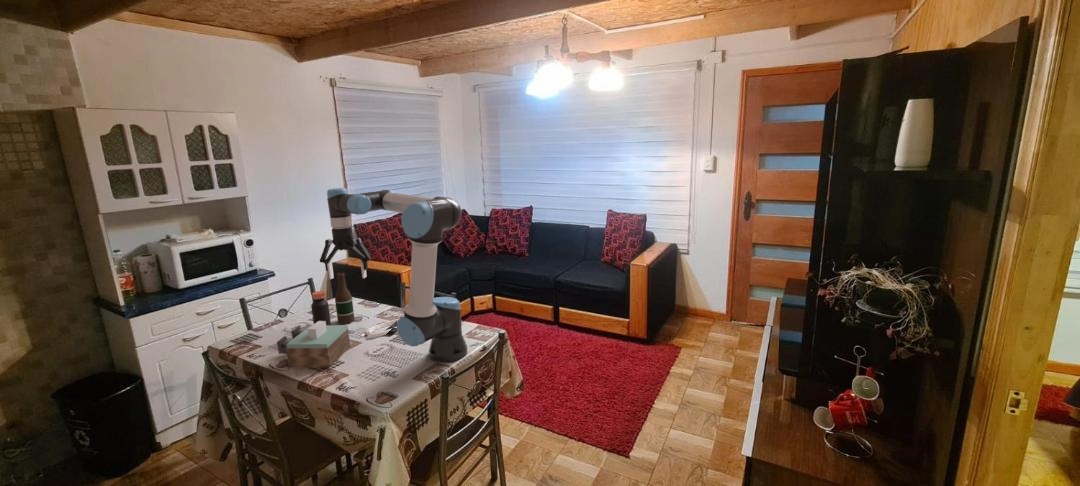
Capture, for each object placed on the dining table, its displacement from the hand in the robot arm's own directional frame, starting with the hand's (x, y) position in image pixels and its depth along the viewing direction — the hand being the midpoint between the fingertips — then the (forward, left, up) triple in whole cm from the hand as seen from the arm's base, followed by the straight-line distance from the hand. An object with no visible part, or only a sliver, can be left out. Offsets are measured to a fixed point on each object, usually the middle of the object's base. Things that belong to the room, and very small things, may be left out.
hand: (348, 278), depth 193 cm
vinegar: (+18, -9, -30) cm, 36 cm away
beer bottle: (+15, -25, -30) cm, 42 cm away
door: (+11, +12, -21) cm, 26 cm away
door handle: (-9, -16, -30) cm, 35 cm away
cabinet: (+11, +12, -29) cm, 33 cm away
